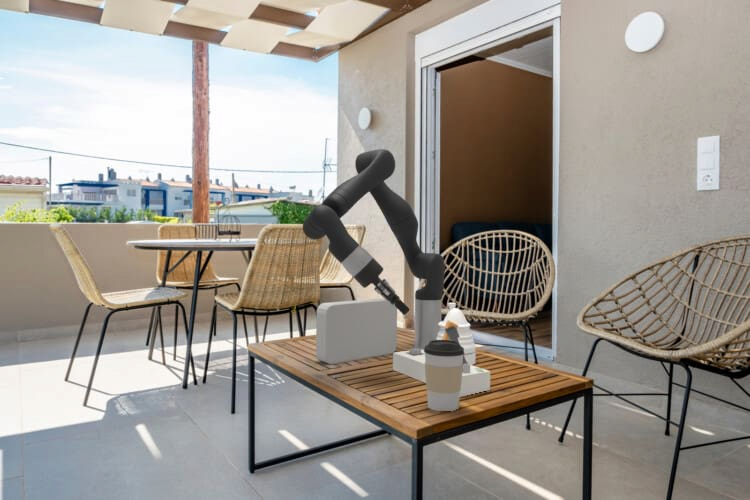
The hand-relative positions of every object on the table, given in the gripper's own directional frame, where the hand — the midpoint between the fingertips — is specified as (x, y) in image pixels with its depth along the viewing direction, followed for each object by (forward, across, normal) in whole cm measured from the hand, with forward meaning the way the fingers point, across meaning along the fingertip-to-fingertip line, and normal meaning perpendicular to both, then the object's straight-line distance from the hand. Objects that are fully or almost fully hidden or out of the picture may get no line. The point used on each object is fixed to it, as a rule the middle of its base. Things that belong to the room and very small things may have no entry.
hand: (406, 312), depth 135 cm
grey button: (+13, +9, +8) cm, 18 cm away
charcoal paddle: (+19, -9, -1) cm, 21 cm away
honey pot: (+25, +21, +1) cm, 33 cm away
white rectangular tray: (+19, 0, +7) cm, 20 cm away
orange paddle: (+15, 0, +3) cm, 15 cm away
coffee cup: (+18, -22, +8) cm, 29 cm away
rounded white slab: (+4, +26, +22) cm, 34 cm away
